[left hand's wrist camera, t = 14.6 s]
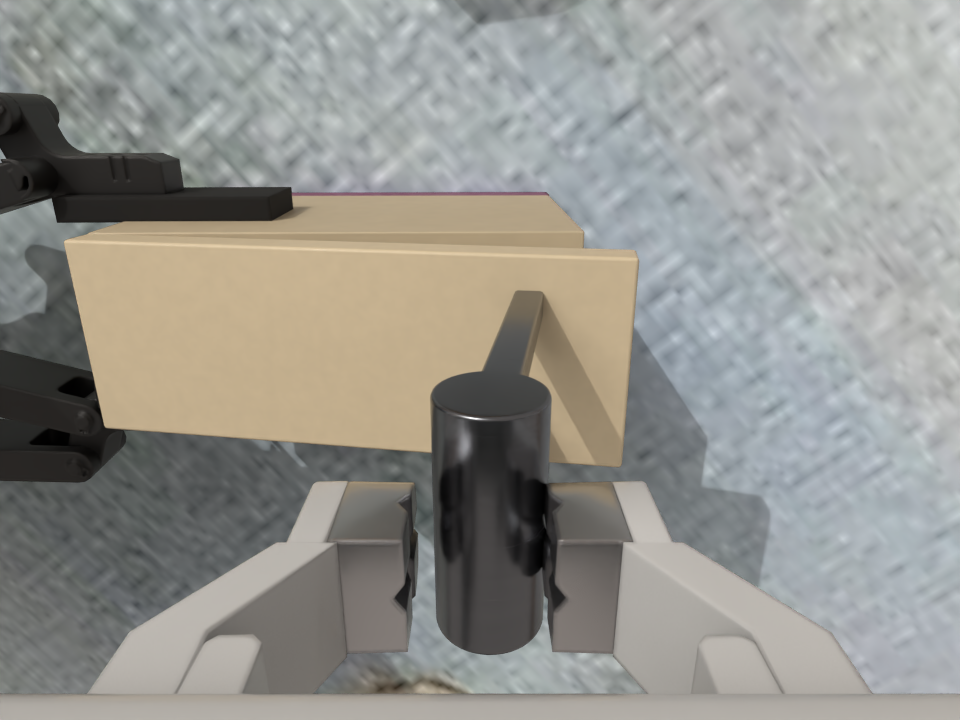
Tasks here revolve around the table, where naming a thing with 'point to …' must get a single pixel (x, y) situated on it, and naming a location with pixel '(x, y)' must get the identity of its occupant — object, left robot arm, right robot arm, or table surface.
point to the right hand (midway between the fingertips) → (290, 296)
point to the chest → (394, 220)
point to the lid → (382, 375)
